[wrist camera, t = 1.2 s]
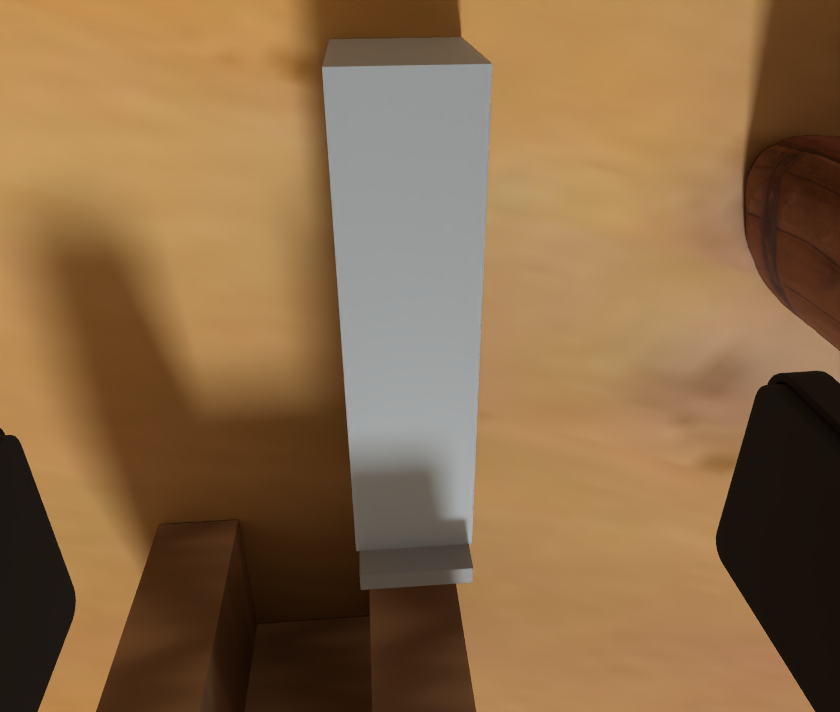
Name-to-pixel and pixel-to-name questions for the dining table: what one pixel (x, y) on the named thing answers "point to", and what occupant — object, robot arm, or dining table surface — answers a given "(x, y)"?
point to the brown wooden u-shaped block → (277, 642)
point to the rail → (410, 293)
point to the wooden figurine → (799, 228)
